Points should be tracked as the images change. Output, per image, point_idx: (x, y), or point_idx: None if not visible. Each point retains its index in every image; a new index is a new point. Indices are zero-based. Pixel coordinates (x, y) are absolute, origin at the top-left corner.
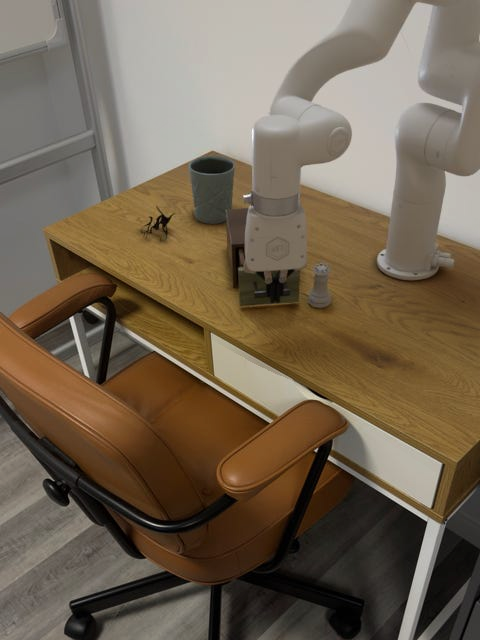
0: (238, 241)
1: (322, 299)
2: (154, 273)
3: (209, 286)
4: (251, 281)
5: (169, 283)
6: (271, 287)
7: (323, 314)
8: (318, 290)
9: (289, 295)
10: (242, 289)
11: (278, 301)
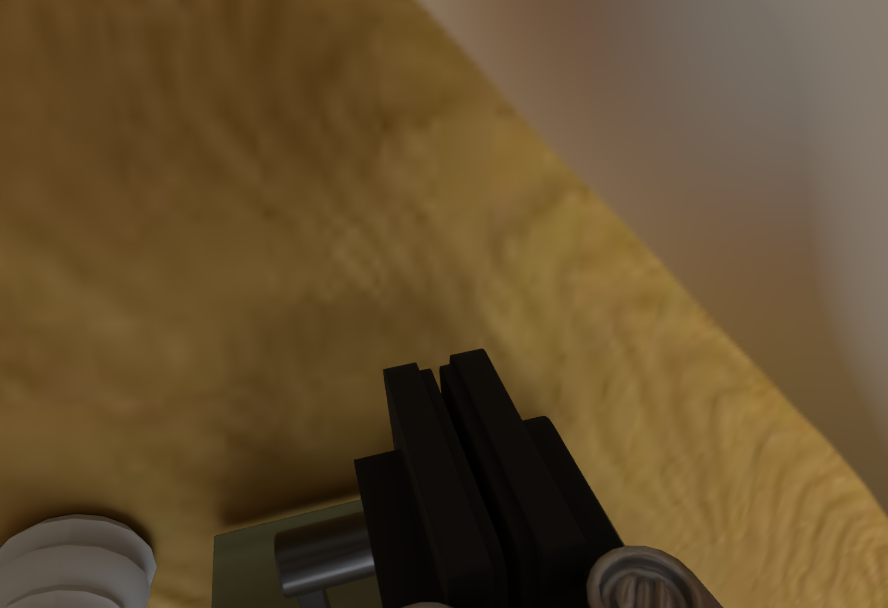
0: None
1: (34, 574)
2: (847, 587)
3: None
4: None
5: (815, 548)
6: (560, 500)
7: (25, 465)
8: None
9: (278, 533)
10: None
11: (403, 374)
